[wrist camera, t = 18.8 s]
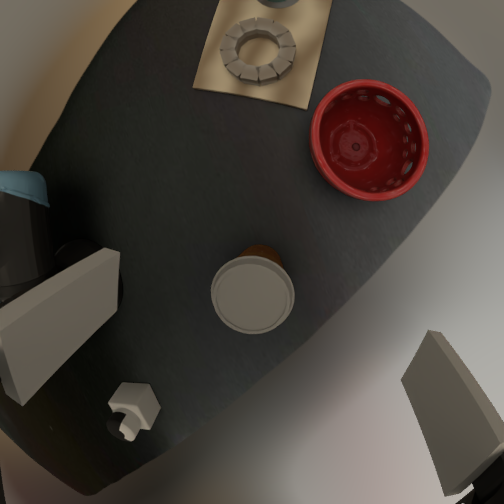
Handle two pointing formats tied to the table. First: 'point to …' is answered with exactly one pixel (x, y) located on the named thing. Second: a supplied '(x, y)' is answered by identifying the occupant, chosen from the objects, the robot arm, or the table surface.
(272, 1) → the teal cylindrical container
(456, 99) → the table surface
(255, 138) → the table surface
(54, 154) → the table surface
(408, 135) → the plant pot
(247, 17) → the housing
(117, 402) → the grey block with knob
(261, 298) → the disposable coffee cup
